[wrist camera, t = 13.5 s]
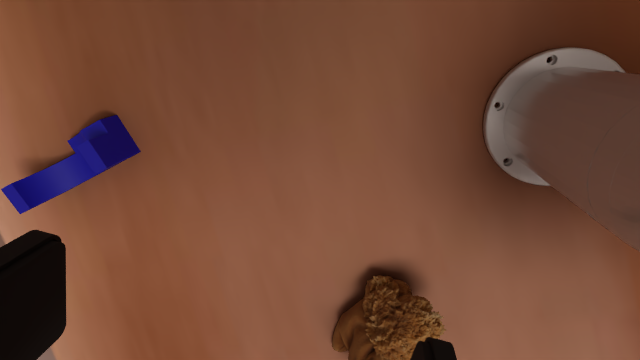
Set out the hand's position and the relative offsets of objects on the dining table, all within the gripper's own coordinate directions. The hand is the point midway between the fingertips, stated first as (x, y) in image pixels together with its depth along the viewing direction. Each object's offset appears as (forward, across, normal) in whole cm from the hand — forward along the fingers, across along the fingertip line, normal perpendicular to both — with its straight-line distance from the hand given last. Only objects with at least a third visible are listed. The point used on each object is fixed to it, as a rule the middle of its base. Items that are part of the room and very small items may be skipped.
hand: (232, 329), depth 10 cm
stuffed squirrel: (+31, -11, +21) cm, 39 cm away
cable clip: (+31, +26, +11) cm, 41 cm away
